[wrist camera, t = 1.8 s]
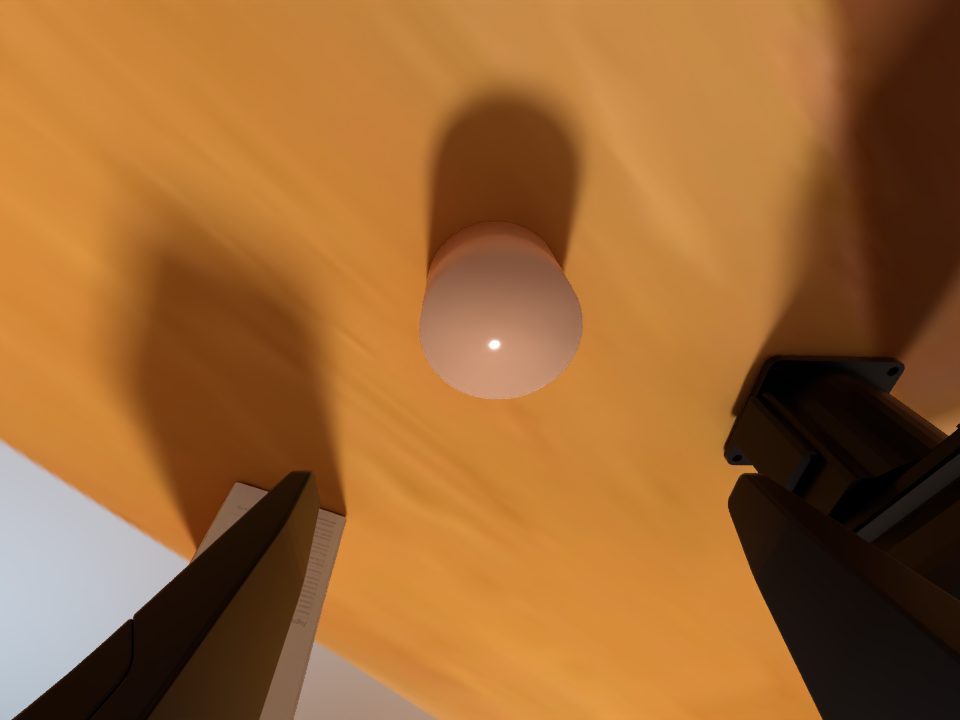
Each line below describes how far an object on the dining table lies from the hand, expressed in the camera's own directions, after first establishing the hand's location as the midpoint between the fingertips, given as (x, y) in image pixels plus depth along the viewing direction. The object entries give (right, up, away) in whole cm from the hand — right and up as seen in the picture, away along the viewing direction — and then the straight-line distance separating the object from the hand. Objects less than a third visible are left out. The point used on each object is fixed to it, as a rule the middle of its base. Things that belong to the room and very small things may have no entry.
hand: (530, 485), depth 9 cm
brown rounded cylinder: (-1, +6, +9) cm, 11 cm away
